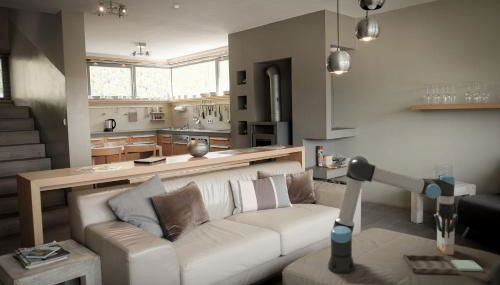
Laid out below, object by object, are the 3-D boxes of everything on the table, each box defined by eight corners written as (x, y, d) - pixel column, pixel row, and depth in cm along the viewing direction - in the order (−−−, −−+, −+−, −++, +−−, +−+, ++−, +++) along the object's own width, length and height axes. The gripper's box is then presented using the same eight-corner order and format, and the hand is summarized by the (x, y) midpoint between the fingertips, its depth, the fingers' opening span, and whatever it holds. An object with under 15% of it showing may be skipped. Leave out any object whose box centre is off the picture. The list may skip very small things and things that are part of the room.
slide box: (413, 273, 215) (413, 268, 215) (403, 259, 235) (403, 254, 235) (457, 274, 212) (457, 269, 212) (443, 260, 232) (443, 255, 232)
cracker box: (454, 255, 239) (455, 222, 237) (444, 255, 240) (444, 222, 238) (446, 247, 253) (446, 216, 251) (436, 247, 254) (436, 215, 252)
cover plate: (459, 272, 216) (459, 268, 216) (450, 264, 228) (450, 259, 228) (482, 273, 215) (482, 268, 214) (472, 264, 227) (472, 260, 226)
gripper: (436, 204, 216) (435, 245, 219) (461, 204, 215) (459, 245, 217) (432, 201, 224) (430, 240, 226) (455, 201, 222) (454, 241, 224)
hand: (445, 243), depth 222 cm, fingers closed
